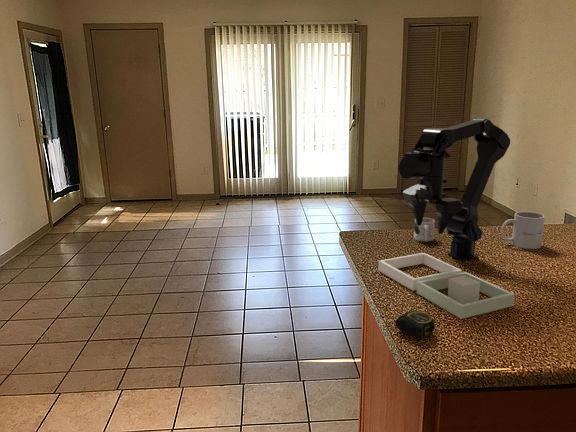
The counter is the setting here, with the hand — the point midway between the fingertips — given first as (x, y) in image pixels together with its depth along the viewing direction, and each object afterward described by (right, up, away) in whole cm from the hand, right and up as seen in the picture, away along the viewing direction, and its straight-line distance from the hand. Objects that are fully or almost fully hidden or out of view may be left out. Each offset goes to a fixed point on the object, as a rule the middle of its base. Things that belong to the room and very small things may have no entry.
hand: (429, 229), depth 135 cm
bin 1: (-4, -13, -4) cm, 14 cm away
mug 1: (+6, -5, +26) cm, 27 cm away
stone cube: (+2, -17, -19) cm, 26 cm away
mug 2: (+36, -6, +21) cm, 42 cm away
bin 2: (+2, -16, -19) cm, 26 cm away
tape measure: (-13, -21, -35) cm, 43 cm away
